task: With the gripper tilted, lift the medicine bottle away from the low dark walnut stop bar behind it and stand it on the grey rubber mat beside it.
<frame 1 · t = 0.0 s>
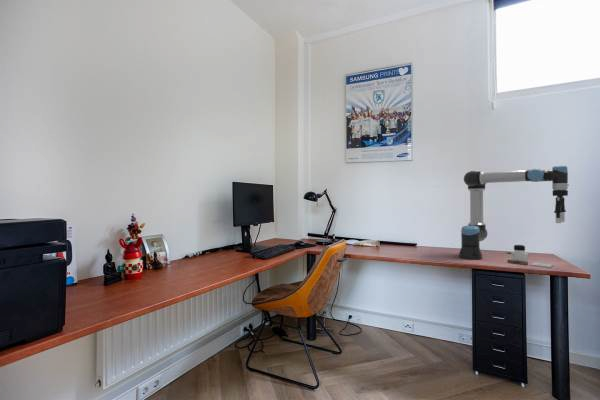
hand: (560, 222, 194), 28 cm above the table, tool pointing down, fingers open, 13 cm apart
walnut stop: (517, 262, 200), on the table
medicine bottle: (519, 262, 203), on the table
grey mat: (541, 265, 194), on the table
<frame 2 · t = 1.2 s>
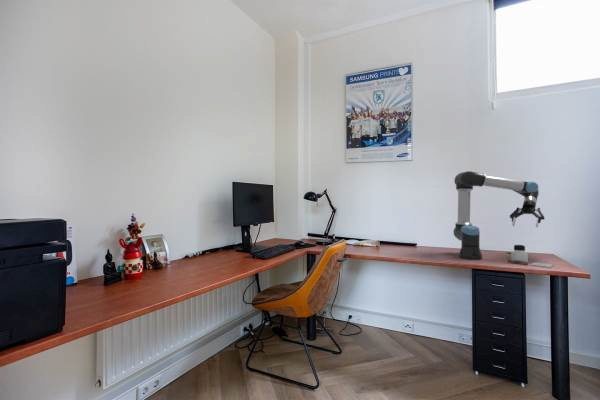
hand: (524, 225, 212), 24 cm above the table, tool tilted 45°, fingers open, 13 cm apart
nothing on the table moved.
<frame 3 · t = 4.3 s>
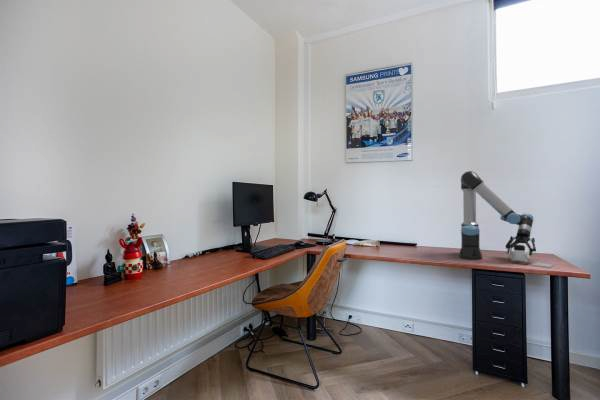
hand: (518, 257, 201), 4 cm above the table, tool tilted 45°, fingers closed on medicine bottle, 10 cm apart
medicine bottle: (519, 262, 203), on the table, touching gripper
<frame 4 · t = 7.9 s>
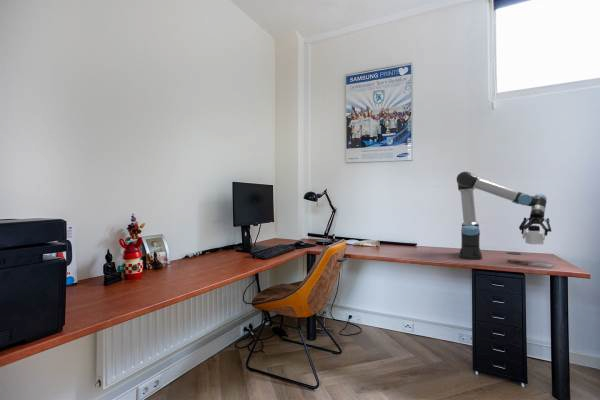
hand: (533, 238, 196), 18 cm above the table, tool tilted 45°, fingers closed on medicine bottle, 10 cm apart
medicine bottle: (534, 243, 198), point 14 cm above the table, touching gripper
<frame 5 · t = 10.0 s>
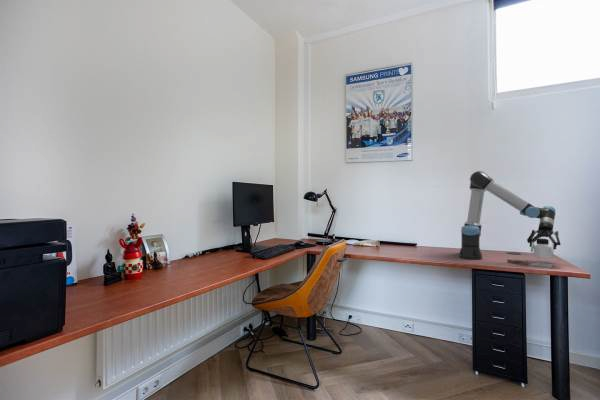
hand: (541, 251, 192), 9 cm above the table, tool tilted 45°, fingers closed on medicine bottle, 10 cm apart
medicine bottle: (542, 257, 194), point 5 cm above the table, touching gripper
when the fingers open (6 cm above the table, at t = 11.4 s): medicine bottle drops 1 cm, resting on grey mat.
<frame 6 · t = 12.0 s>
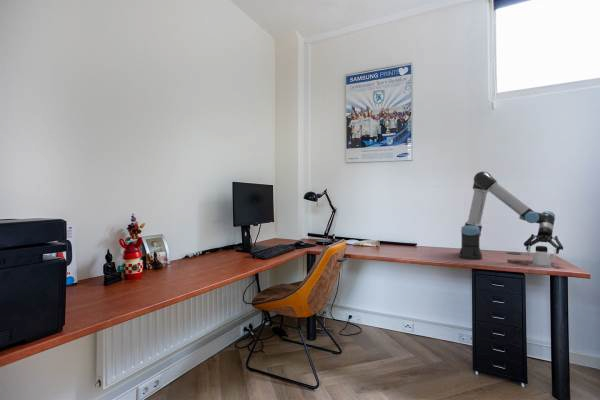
hand: (541, 255, 193), 7 cm above the table, tool tilted 45°, fingers open, 13 cm apart
medicine bottle: (541, 264, 195), resting on grey mat
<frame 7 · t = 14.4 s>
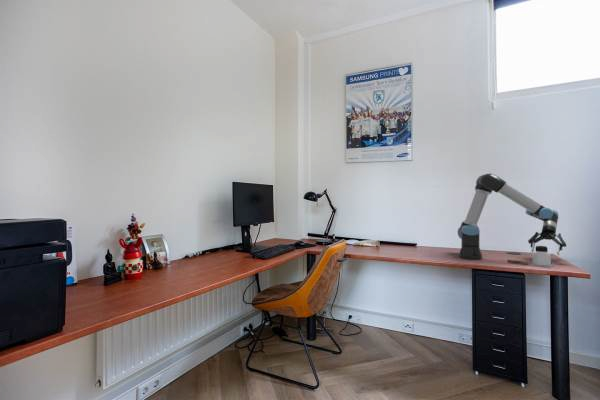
hand: (544, 252, 202), 7 cm above the table, tool tilted 45°, fingers open, 13 cm apart
nothing on the table moved.
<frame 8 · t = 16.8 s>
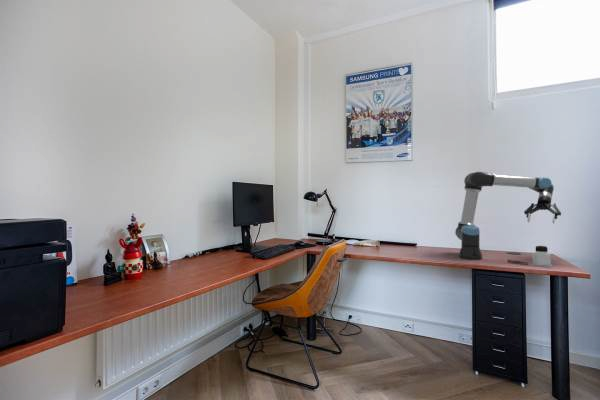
hand: (540, 221, 206), 28 cm above the table, tool tilted 45°, fingers open, 13 cm apart
nothing on the table moved.
at the end: medicine bottle inside the target area on the grey mat (0.2 cm from its centre), point 0.4 cm above the grey mat's base; medicine bottle tilted 0°; the gripper is holding nothing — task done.
